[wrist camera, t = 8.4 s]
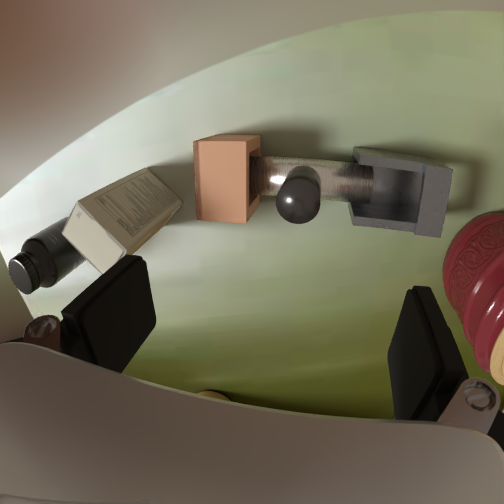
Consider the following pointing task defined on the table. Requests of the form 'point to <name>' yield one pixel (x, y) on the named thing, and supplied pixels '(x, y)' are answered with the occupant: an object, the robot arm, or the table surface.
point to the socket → (224, 177)
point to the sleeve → (403, 192)
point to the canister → (479, 288)
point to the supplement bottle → (44, 259)
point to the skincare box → (120, 218)
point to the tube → (308, 183)
